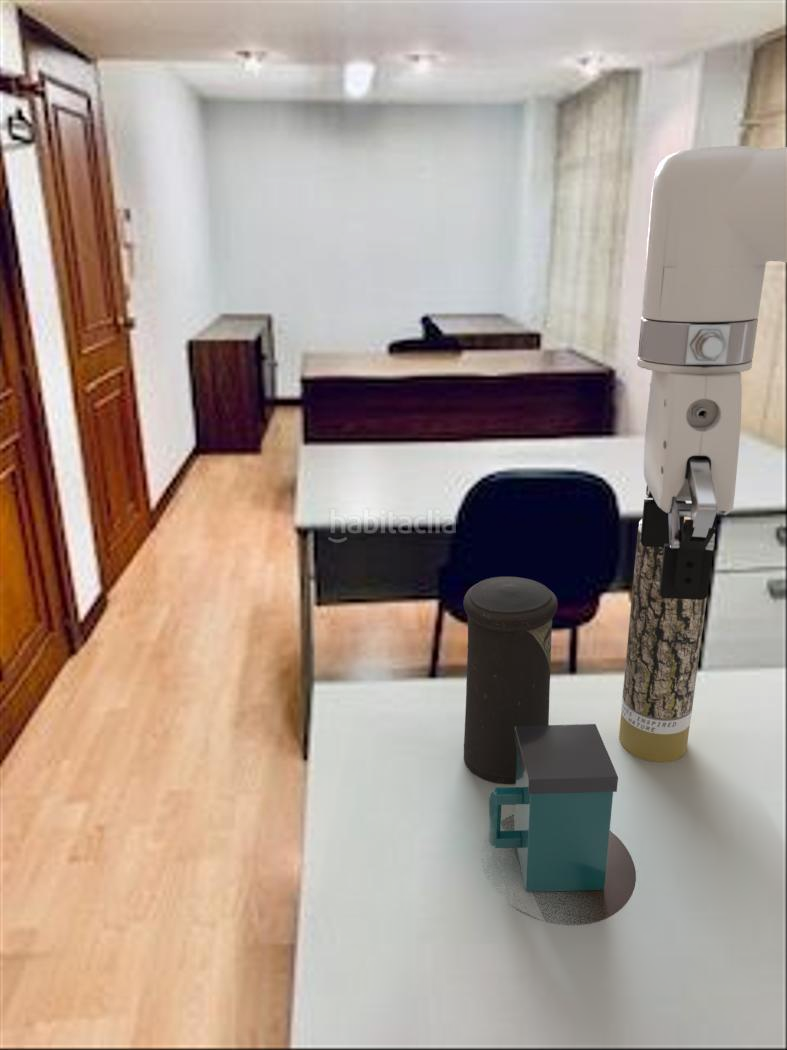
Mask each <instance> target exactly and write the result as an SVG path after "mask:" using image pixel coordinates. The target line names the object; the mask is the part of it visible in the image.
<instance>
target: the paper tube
mask: <svg viewBox="0 0 787 1050" xmlns="http://www.w3.org/2000/svg"><path fill="white" fill-rule="evenodd" d="M686 519H691V517H684V522H685V520H686ZM641 528H642V518H641V519H640V520H639V522H638V527H637V535H636V536H637V537H636V538H637V539H636V547H635V558H634V569H633V580H632V588H631V589H632V590H631V602H630V611H629V623H628V632H627V643H626V654H625V655H626V657H625V664H624V665H625V666H624V676H623V688H622V696H621V697H622V698H621V708H620V721H619V731H618V732H619V733H618V741H619V743H620V745H621V746H622V748H623V749H624V750H625V751H626V752H627V753H629V754H631V756H634V757H636V758H638V759H641V760H644V761H647V762H651V763H652V762H653V763H671V762H675V761H677V760H679V759H681V758H683V757H684V756H685V754H686V753H687V749H688V741H689V733H690V727H691V721H692V713H693V705H694V698H695V696H694V695H695V689H696V682H697V674H698V668H699V661H700V660H699V659H700V652H701V646H702V637H703V631H704V621H705V616H706V615H705V613H706V607H707V599H708V596H707V597H706V598H705V599H703V600H693V599H671V598H663V597H662V596H661V594H660V592H659V588H660V579H661V569H662V560H663V550H664V547H644V546H643V545H642V544H641V541H640V539H641ZM715 538H716V533H715V534H714V540H716V539H715Z"/></svg>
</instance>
